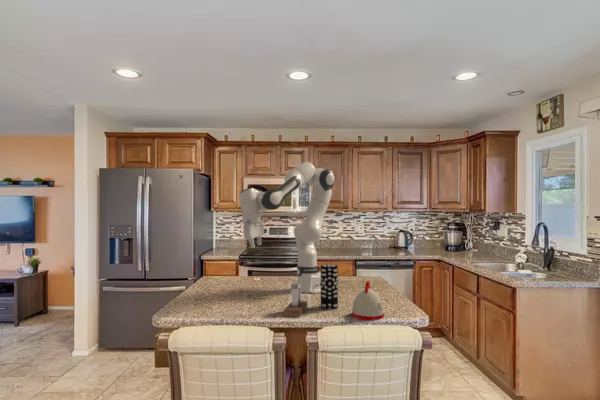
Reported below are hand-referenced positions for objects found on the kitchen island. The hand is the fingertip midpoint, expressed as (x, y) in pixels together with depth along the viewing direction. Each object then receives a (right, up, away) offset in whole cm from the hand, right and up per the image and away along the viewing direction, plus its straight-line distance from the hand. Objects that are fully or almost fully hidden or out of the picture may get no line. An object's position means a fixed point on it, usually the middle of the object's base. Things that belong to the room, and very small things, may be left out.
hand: (256, 246), depth 184 cm
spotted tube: (+36, -28, -10) cm, 47 cm away
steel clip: (+20, -28, -17) cm, 39 cm away
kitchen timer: (+52, -28, -23) cm, 64 cm away
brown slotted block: (+20, -28, -17) cm, 39 cm away
